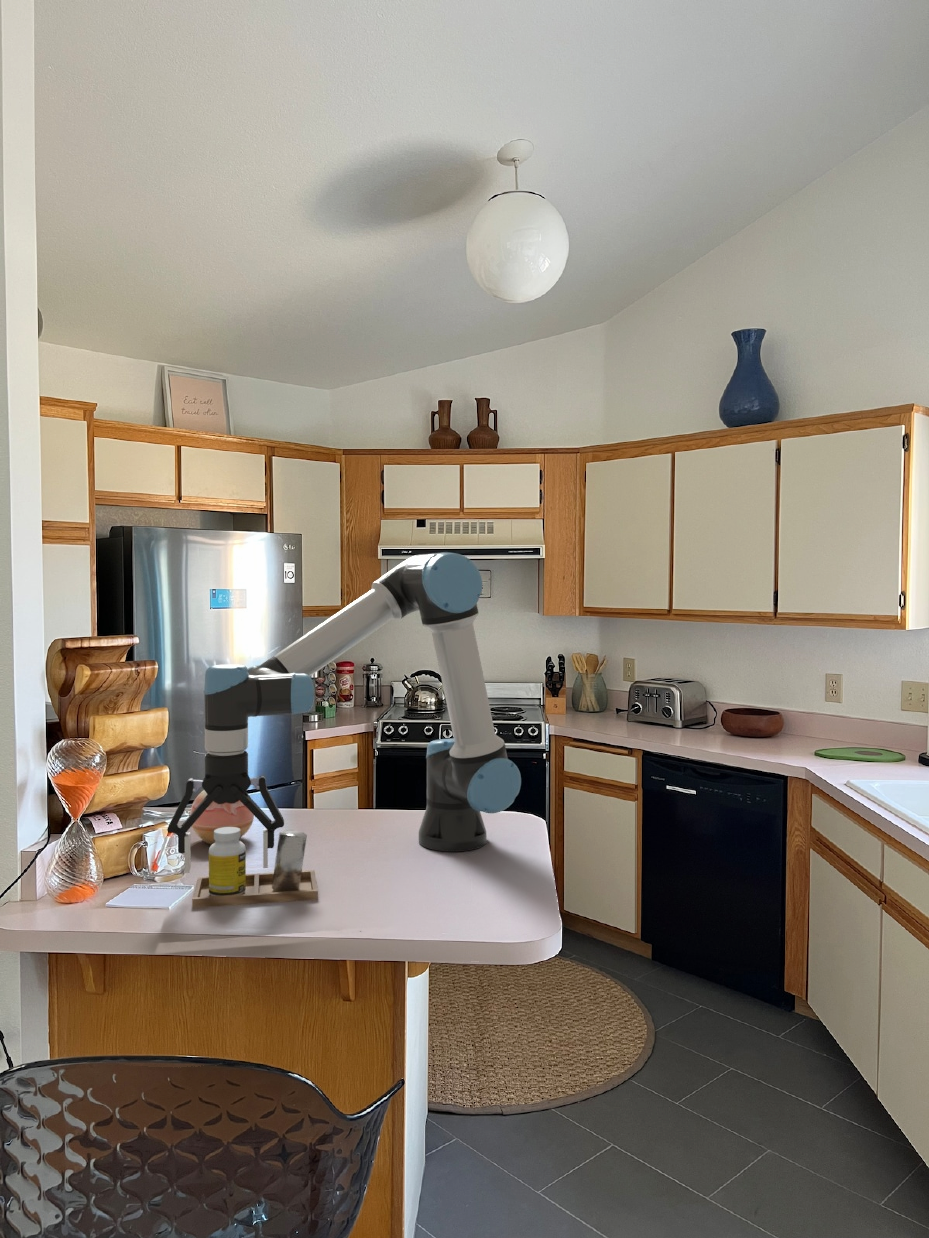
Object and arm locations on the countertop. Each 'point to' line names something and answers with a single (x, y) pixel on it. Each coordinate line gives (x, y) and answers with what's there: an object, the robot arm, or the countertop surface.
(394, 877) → the countertop surface
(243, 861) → the pill bottle
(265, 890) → the rack
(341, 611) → the robot arm
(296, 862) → the canister
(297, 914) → the countertop surface
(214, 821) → the vase
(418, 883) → the countertop surface
